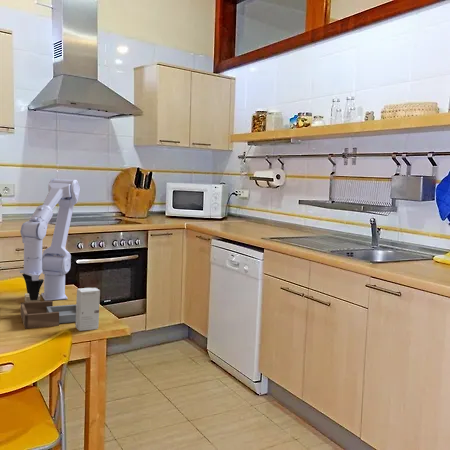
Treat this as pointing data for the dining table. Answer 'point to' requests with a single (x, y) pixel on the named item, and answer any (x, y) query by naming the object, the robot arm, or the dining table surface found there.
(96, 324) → the skincare box
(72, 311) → the tray
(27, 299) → the birch block
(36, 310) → the dock
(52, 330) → the dining table surface
